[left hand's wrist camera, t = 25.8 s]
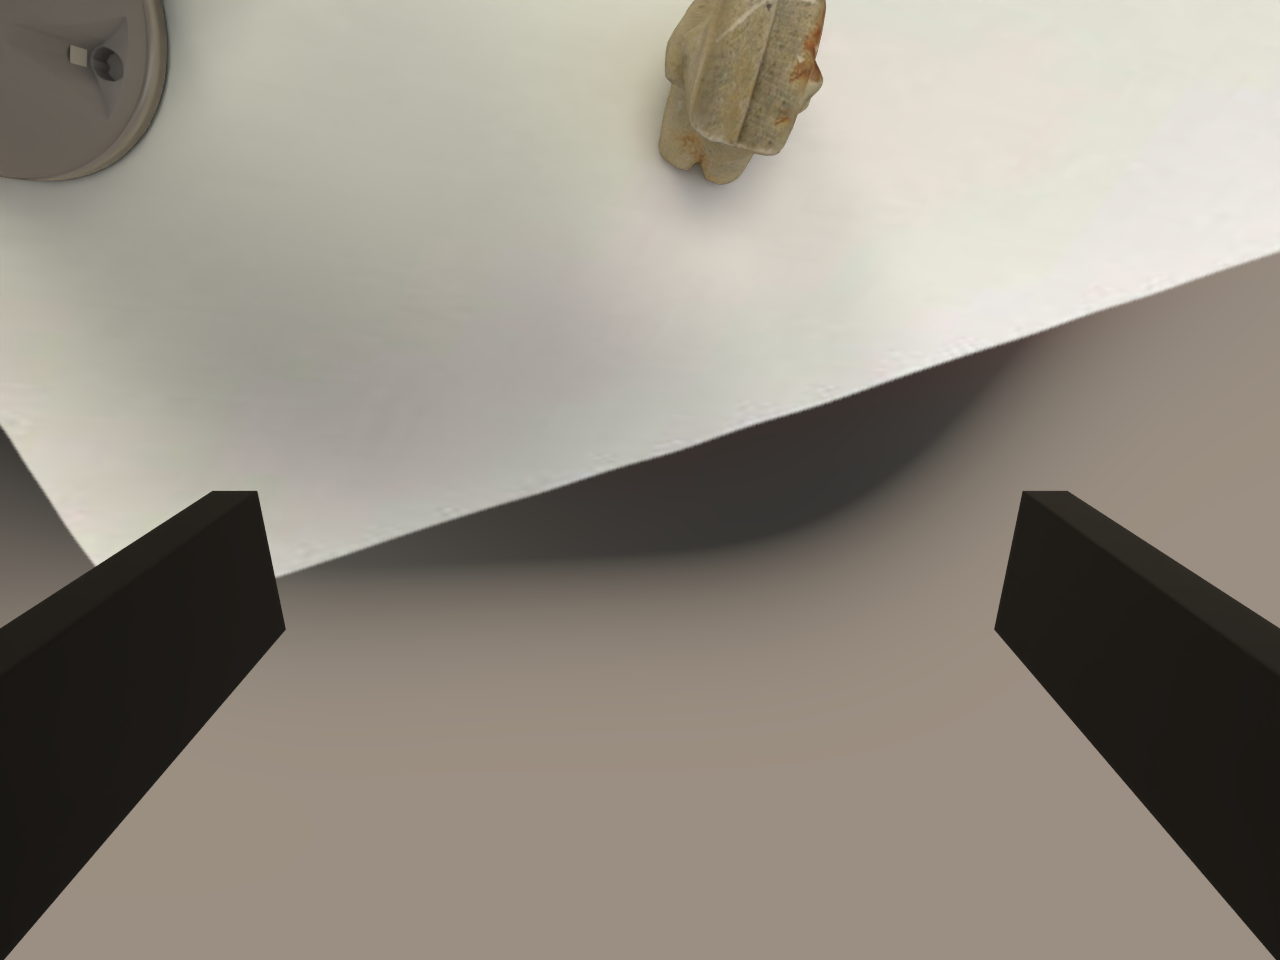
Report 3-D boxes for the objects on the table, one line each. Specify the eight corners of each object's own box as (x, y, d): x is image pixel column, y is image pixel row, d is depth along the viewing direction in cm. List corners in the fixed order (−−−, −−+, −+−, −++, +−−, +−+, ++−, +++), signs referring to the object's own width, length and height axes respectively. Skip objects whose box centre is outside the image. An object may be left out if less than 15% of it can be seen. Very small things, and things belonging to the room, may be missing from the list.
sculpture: (637, 154, 36) (635, 117, 22) (689, -1, 34) (724, -152, 20) (741, 197, 37) (803, 187, 23) (799, 48, 35) (909, -65, 21)
